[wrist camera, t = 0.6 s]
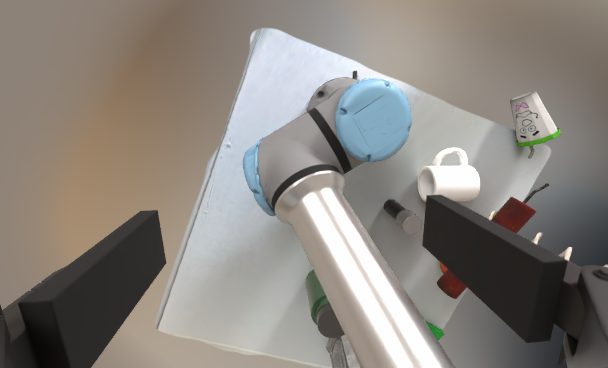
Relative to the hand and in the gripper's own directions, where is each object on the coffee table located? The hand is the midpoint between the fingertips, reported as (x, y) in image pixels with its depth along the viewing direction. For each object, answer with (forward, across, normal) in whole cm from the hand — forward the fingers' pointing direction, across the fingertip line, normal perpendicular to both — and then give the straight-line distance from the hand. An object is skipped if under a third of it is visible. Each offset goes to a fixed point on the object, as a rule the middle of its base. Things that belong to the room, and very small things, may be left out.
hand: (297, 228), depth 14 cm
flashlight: (+50, +25, -17) cm, 59 cm away
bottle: (+50, +9, -36) cm, 63 cm away
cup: (+48, +52, +7) cm, 71 cm away
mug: (+50, +36, -9) cm, 63 cm away
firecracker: (+41, +35, -35) cm, 64 cm away
